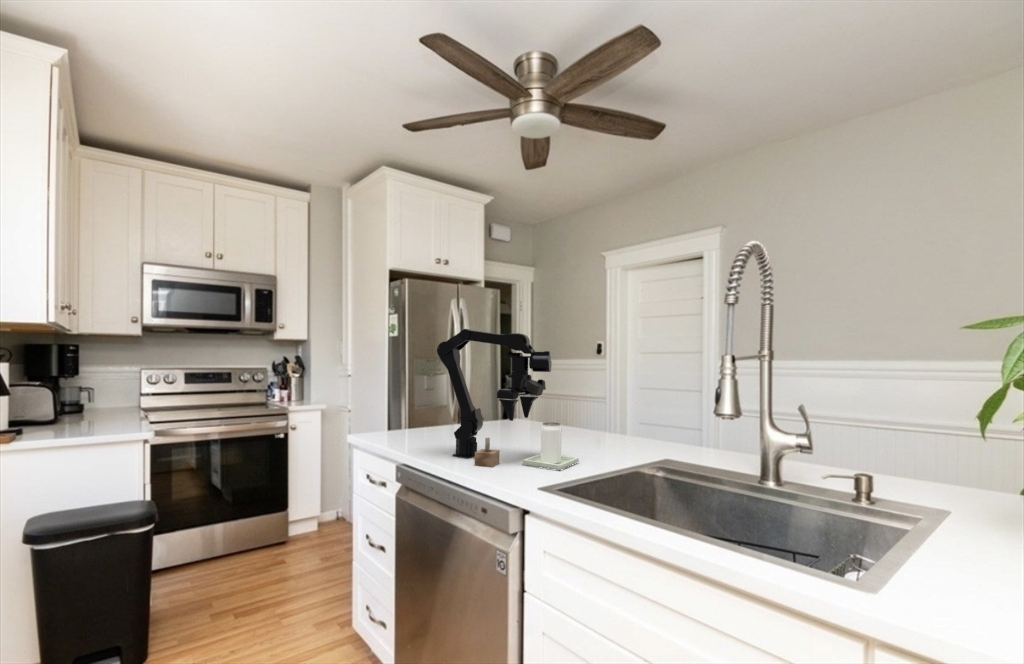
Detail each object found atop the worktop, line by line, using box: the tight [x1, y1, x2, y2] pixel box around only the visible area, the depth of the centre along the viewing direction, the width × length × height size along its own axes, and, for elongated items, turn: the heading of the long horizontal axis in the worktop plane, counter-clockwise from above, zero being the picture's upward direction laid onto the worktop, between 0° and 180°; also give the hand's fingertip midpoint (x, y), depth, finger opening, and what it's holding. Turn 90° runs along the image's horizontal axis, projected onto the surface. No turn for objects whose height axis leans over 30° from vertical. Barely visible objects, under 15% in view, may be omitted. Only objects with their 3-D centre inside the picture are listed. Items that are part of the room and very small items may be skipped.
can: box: [540, 421, 563, 464], centre depth 153 cm, size 6×6×12 cm
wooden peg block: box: [474, 437, 501, 468], centre depth 152 cm, size 6×6×8 cm
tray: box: [522, 453, 580, 471], centre depth 153 cm, size 13×13×2 cm
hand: (519, 419), depth 160 cm, fingers open, 9 cm apart
